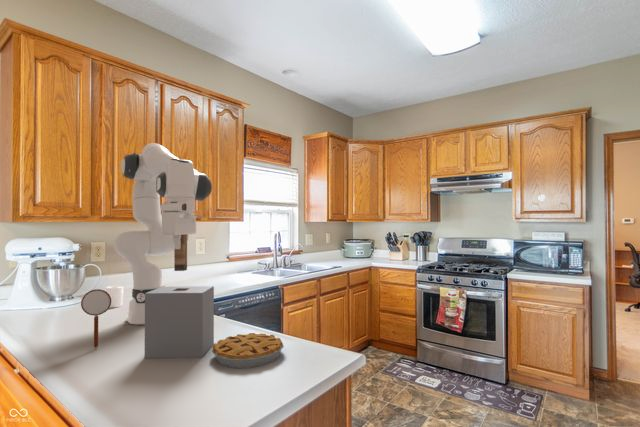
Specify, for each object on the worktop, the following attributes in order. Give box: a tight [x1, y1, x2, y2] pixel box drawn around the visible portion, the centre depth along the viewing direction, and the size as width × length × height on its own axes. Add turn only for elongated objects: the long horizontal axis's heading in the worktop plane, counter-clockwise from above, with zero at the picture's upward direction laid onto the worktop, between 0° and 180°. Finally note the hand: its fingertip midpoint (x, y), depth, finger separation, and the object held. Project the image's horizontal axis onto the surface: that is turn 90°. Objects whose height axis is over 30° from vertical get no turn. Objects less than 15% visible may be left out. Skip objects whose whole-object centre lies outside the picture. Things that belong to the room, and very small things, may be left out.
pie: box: [211, 332, 285, 369], centre depth 112 cm, size 22×22×5 cm
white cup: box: [105, 285, 125, 309], centre depth 183 cm, size 8×8×10 cm
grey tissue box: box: [144, 285, 215, 359], centre depth 117 cm, size 12×18×20 cm, turn 90°
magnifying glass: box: [80, 288, 111, 351], centre depth 119 cm, size 9×2×20 cm, turn 114°
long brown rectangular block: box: [173, 234, 188, 272], centre depth 118 cm, size 3×3×16 cm
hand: (180, 248), depth 118 cm, fingers closed on long brown rectangular block, 3 cm apart
